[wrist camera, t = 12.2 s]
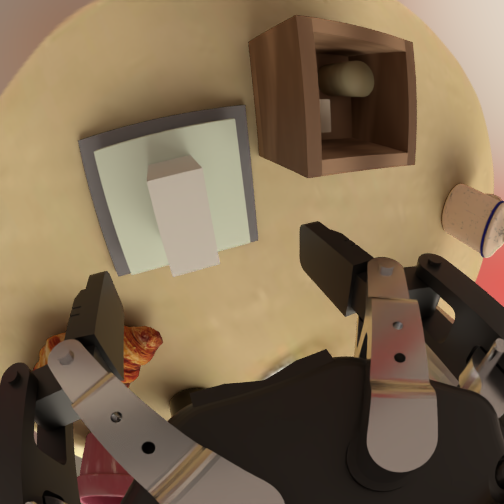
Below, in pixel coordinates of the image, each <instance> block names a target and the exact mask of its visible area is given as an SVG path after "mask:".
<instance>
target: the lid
mask: <svg viewBox="0 0 504 504" xmlns="http://www.w3.org/2000/svg"><path fill="white" fill-rule="evenodd" d="M94 155H95V160H96V164H97V168H98V172H99V176H100V180H101V183H102V187H103V191H104V194H105V198H106V201H107V204H108V208H109V211H110V214H111V218H112V221H113V224H114V227H115V230H116V233H117V236H118V239H119V242H120V245H121V248H122V250H123V253H124V256H125V259H126V261H127V264H128V267H129V269H130V272H131V275H135V274H138V273H142V272H146V271H149V270H153V269H156V268H160V267H164V266H167V265H169V266H170V269H171V273H172V276H173V277H175V276H179V275H183V274H186V273H190V272H193V271H197V270H201V269H204V268H208V267H211V266H215V265H219V264H220V260H219V255H218V251H222V250H226V249H229V248H233V247H237V246H241V245H244V244H248V243H251V242H250V234H249V226H248V218H247V210H246V202H245V194H244V186H243V178H242V170H241V162H240V154H239V147H238V139H237V131H236V123H235V119H232V118H231V119H224V120H218V121H212V122H206V123H200V124H195V125H190V126H185V127H180V128H176V129H171V130H167V131H162V132H158V133H154V134H150V135H146V136H142V137H138V138H135V139H131V140H127V141H124V142H121V143H117V144H114V145H111V146H107V147H104V148H101V149H98V150H96V151H94Z"/></svg>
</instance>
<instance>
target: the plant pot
mask: <svg viewBox="0 0 504 504" xmlns="http://www.w3.org/2000/svg"><path fill="white" fill-rule="evenodd" d="M133 479H134V478H133V477H132V476H131V475H130V474H129V473H128V472H127V471H126V470H125V469H124V468H123V467H122V466H121V465H120V464H119V463H118V462H117V461H116V460H115V459H114V458H113V456H112V455H111V454H110V453H109V452H108V451H107V450H106V449H105V448H104V447H103V445H102V444H101V443H100V442H99V441H98V440H97V438H96V437H95V436H94V435H93V434H92V432H90V433H89V434H88V435H87V437H86V443H85V448H84V453H83V458H82V464H81V470H80V476H78V477H77V483H78V490H79V496H80V502H81V503H83V504H120V502H121V501H122V499H123V497H124V495H125V494H126V492H127V490H128V488H129V487H130V485H131V483H132V481H133Z"/></svg>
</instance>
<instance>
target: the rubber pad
mask: <svg viewBox="0 0 504 504" xmlns="http://www.w3.org/2000/svg"><path fill="white" fill-rule="evenodd" d="M231 118H232V119H235V123H236V131H237V139H238V147H239V154H240V162H241V170H242V178H243V186H244V194H245V202H246V210H247V218H248V226H249V234H250V242H254V241H258V231H257V221H256V210H255V199H254V189H253V178H252V168H251V158H250V148H249V138H248V128H247V118H246V108H245V105H239V106H230V107H222V108H214V109H207V110H201V111H195V112H189V113H183V114H178V115H173V116H168V117H163V118H158V119H154V120H149V121H145V122H141V123H137V124H133V125H129V126H125V127H121V128H118V129H114V130H111V131H107V132H104V133H101V134H97V135H94V136H91V137H88V138H85V139H82V140H79V141H78V143H79V148H80V152H81V157H82V161H83V166H84V170H85V174H86V178H87V182H88V186H89V190H90V193H91V197H92V200H93V204H94V207H95V211H96V214H97V217H98V220H99V224H100V227H101V230H102V233H103V236H104V239H105V242H106V245H107V247H108V250H109V253H110V256H111V259H112V261H113V264H114V267H115V269H116V272H117V274H118V277H119V276H122V275H126V274H130V273H131V272H130V269H129V267H128V264H127V261H126V259H125V256H124V253H123V250H122V248H121V245H120V242H119V239H118V236H117V233H116V230H115V227H114V224H113V221H112V218H111V214H110V211H109V208H108V204H107V201H106V198H105V194H104V191H103V187H102V183H101V180H100V176H99V172H98V168H97V164H96V160H95V155H94V151H96V150H98V149H101V148H104V147H107V146H111V145H114V144H117V143H121V142H124V141H127V140H131V139H135V138H138V137H142V136H146V135H150V134H154V133H158V132H162V131H167V130H171V129H176V128H180V127H185V126H190V125H195V124H200V123H206V122H212V121H218V120H224V119H231Z"/></svg>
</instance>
